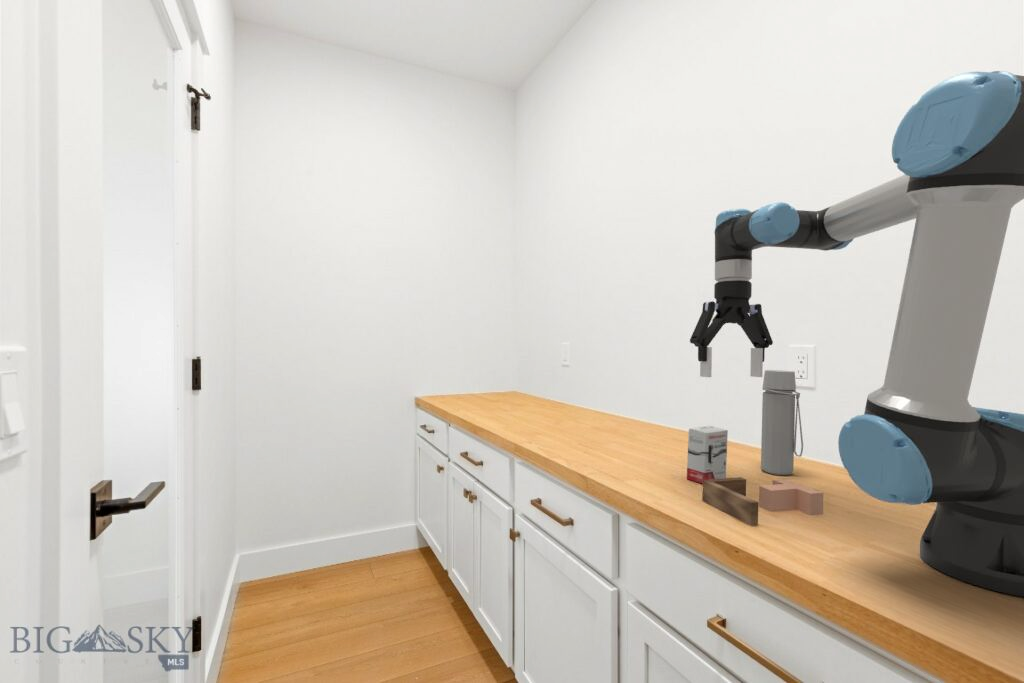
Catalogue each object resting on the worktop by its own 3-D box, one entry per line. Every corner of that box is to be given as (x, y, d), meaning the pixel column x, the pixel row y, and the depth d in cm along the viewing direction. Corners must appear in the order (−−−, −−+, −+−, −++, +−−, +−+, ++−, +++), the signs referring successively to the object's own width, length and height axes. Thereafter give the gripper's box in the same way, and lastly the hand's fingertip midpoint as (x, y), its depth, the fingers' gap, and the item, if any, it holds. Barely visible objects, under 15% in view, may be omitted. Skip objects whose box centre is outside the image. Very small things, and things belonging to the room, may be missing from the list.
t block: (822, 513, 89) (823, 492, 89) (783, 517, 87) (784, 495, 87) (783, 498, 98) (784, 478, 98) (747, 501, 96) (747, 481, 96)
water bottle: (754, 471, 118) (757, 370, 117) (767, 466, 123) (769, 369, 123) (796, 480, 111) (798, 373, 111) (807, 474, 116) (810, 372, 116)
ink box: (704, 485, 106) (706, 432, 106) (685, 479, 110) (687, 428, 110) (727, 479, 110) (728, 428, 110) (708, 474, 115) (709, 425, 115)
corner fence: (794, 521, 85) (795, 499, 85) (750, 525, 83) (751, 502, 83) (740, 496, 98) (740, 477, 98) (700, 499, 96) (701, 479, 96)
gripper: (764, 286, 113) (763, 375, 113) (674, 280, 106) (672, 375, 106) (791, 282, 106) (790, 377, 106) (696, 275, 99) (694, 378, 99)
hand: (731, 377), depth 106 cm, fingers open, 13 cm apart
